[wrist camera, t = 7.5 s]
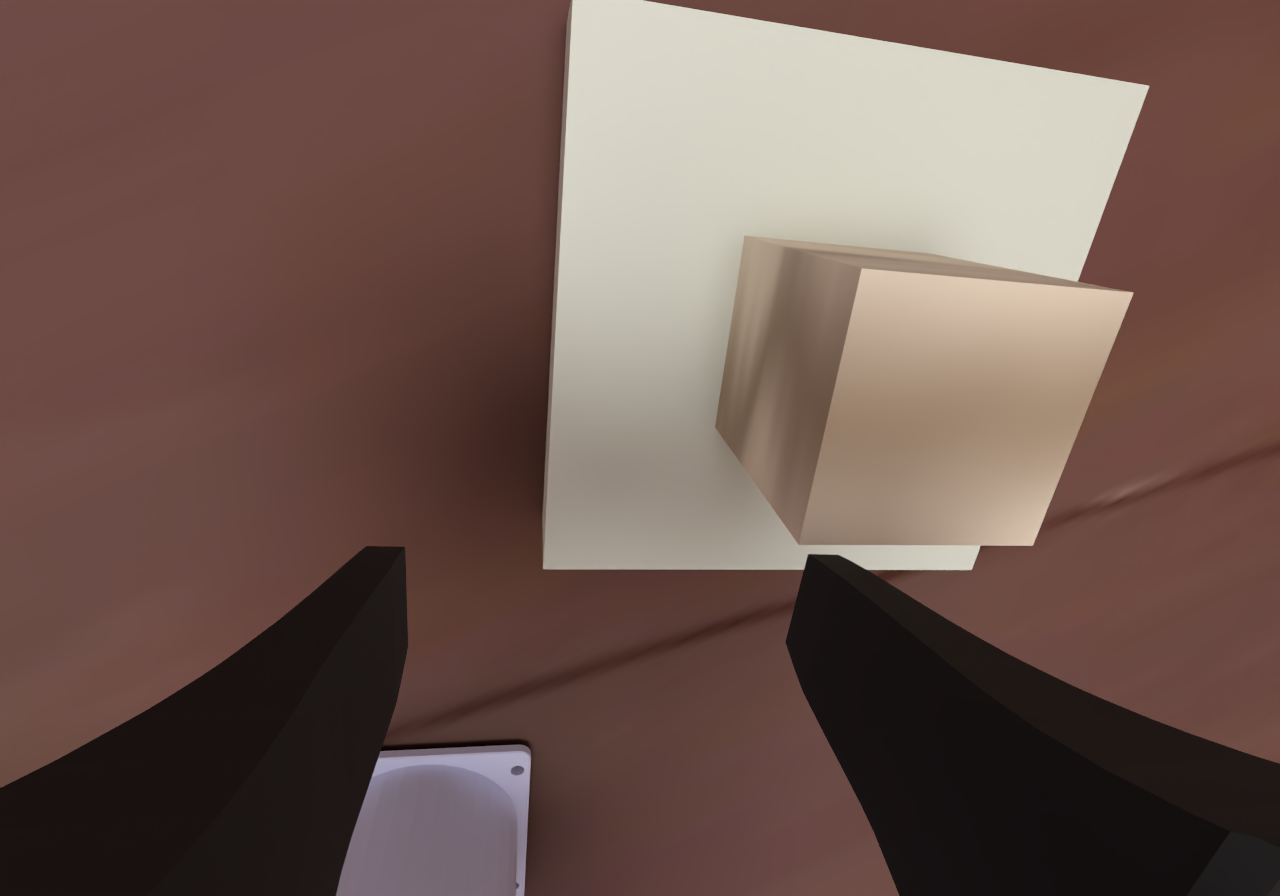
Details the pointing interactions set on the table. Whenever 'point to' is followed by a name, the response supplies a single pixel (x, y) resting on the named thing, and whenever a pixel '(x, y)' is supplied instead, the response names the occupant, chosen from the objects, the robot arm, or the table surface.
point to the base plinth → (770, 208)
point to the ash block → (908, 391)
